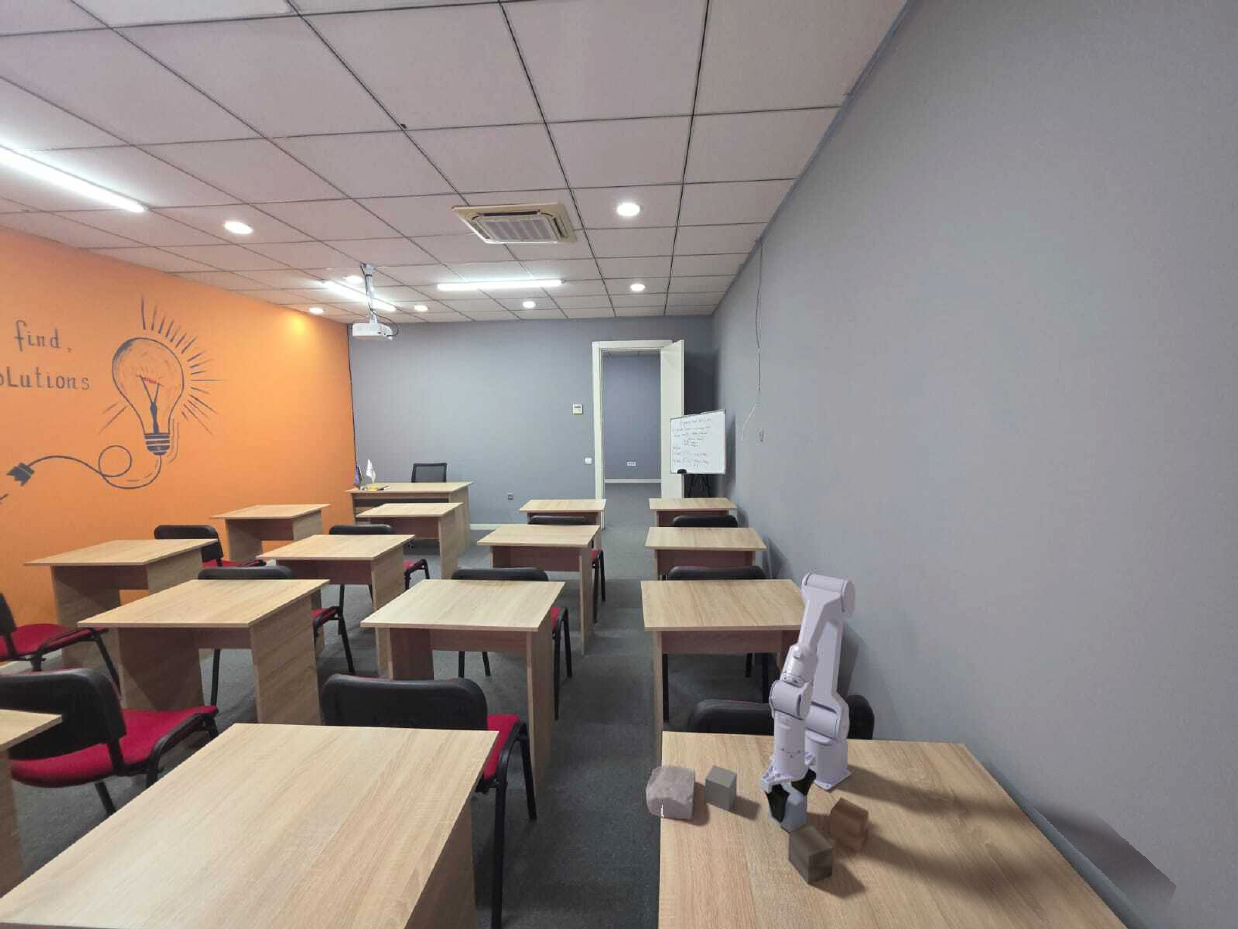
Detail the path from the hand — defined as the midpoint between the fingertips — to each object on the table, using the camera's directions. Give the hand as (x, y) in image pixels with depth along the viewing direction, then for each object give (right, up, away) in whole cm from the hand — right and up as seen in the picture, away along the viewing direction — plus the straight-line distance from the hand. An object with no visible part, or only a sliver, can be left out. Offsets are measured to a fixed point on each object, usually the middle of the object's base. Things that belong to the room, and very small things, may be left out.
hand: (787, 811), depth 95 cm
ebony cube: (0, -2, -11) cm, 11 cm away
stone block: (-22, -2, +6) cm, 23 cm away
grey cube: (-12, -1, +5) cm, 13 cm away
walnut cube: (+10, -2, -4) cm, 11 cm away
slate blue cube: (0, -2, 0) cm, 2 cm away
